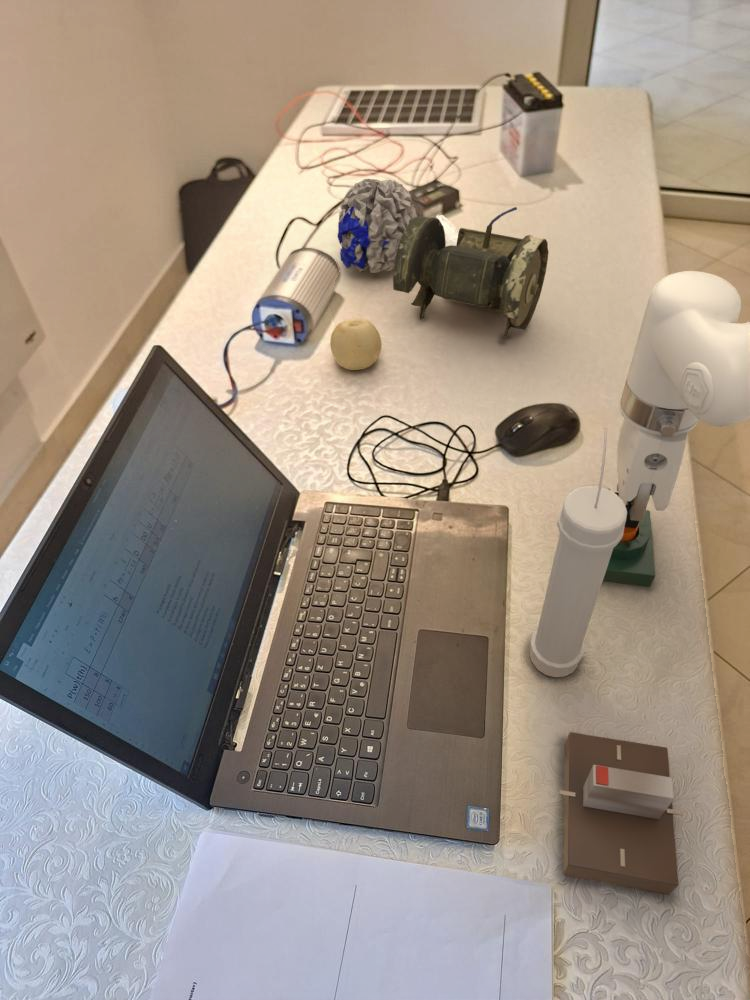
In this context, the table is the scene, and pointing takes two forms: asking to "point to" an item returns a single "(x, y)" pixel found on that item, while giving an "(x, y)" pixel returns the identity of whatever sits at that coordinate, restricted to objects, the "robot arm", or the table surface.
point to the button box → (633, 558)
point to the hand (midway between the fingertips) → (622, 521)
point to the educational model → (373, 224)
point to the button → (629, 534)
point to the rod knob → (627, 792)
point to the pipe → (577, 575)
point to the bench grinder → (472, 269)
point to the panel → (616, 820)
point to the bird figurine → (449, 231)
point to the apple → (355, 344)
